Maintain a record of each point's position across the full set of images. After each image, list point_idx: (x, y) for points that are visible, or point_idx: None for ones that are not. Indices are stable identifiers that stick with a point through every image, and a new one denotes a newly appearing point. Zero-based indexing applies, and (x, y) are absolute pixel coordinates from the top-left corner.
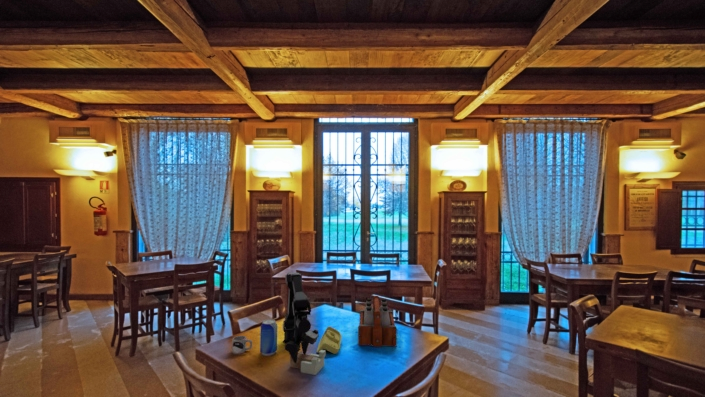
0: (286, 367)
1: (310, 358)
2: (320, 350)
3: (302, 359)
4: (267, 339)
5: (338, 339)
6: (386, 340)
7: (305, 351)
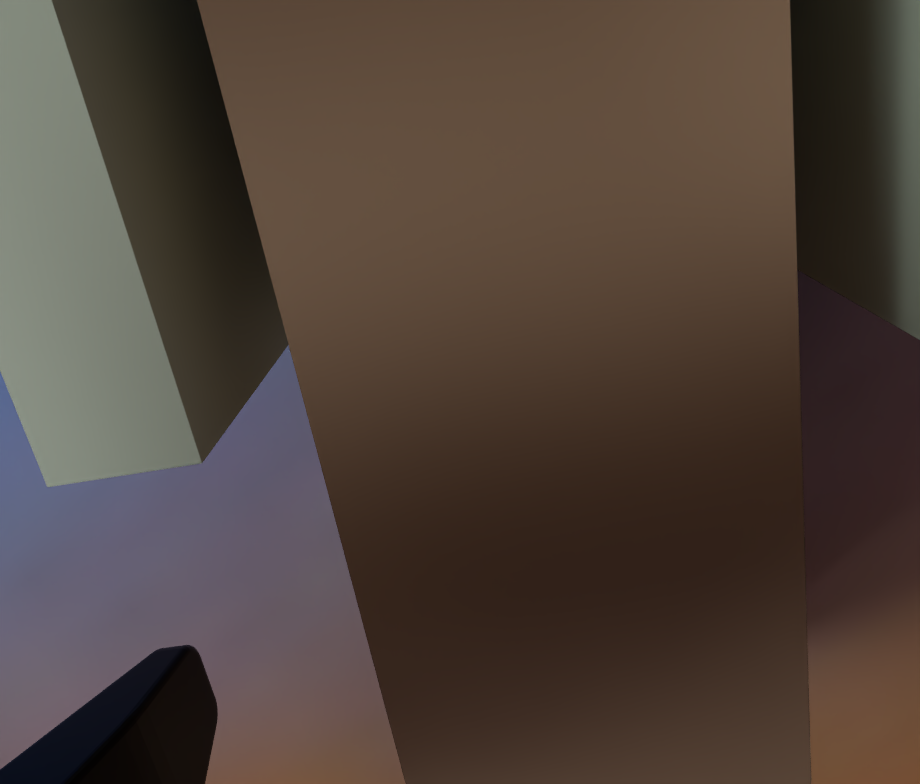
0: None
1: (629, 26)
2: None
3: (782, 434)
4: None
5: None
6: None
7: (138, 737)
